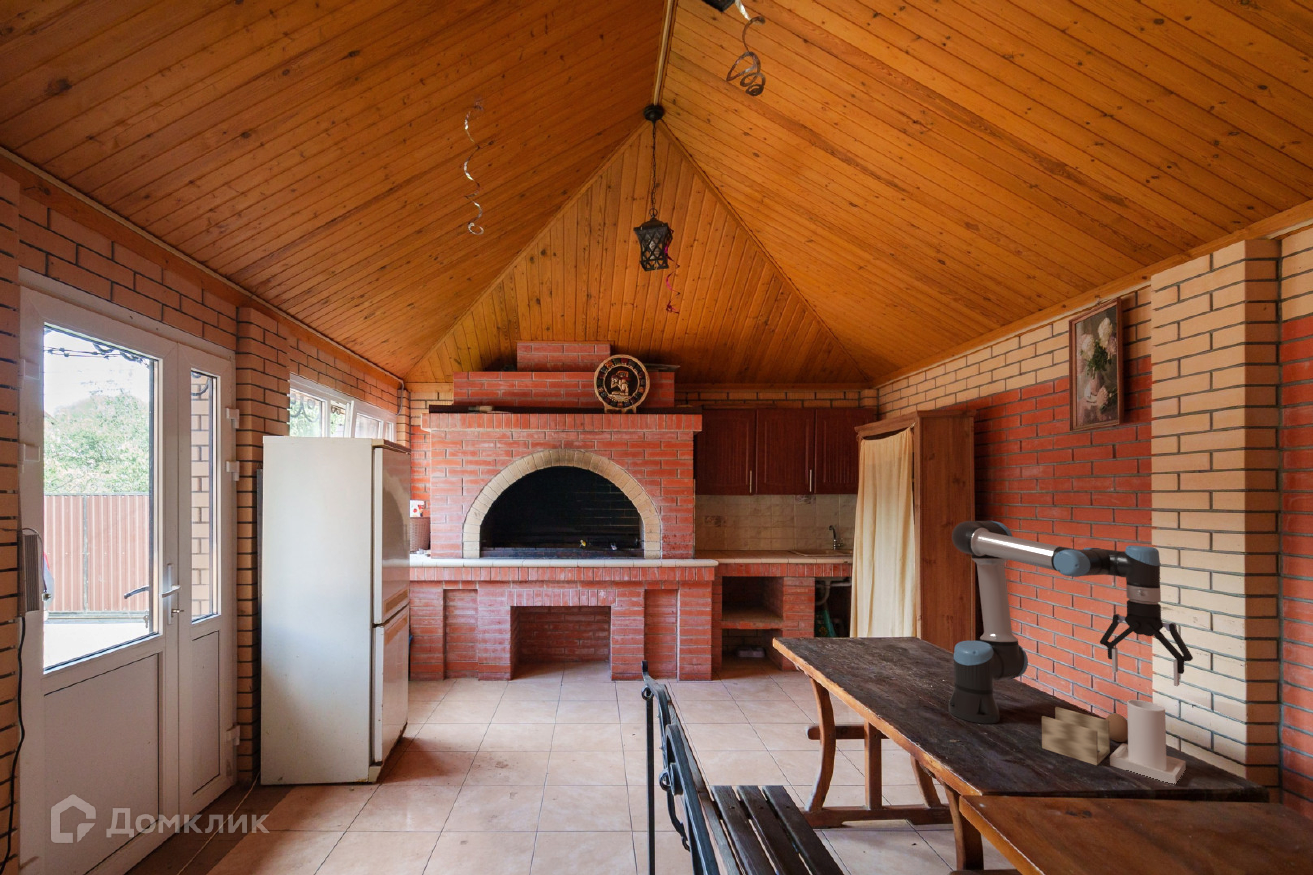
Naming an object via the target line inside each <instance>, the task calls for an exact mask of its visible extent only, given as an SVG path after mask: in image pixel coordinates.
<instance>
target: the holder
mask: <svg viewBox="0 0 1313 875" xmlns="http://www.w3.org/2000/svg"><path fill="white" fill-rule="evenodd" d="M1054 710H1055V711H1054V713H1055V715H1054V717H1055V718H1053V717H1048V716H1045V715H1042V716H1041V748H1042V749H1043V750H1047V751H1050V752H1053V753H1056V754H1059V755H1063V756H1066V757H1069V758H1072V759H1076V760H1077V761H1081V762H1085V763H1088V764H1092V765H1095V766H1098V765H1099V764H1100V763H1101V762H1102V761H1103V760H1104V759H1105V758H1106V757H1107V756H1108V755H1109V754H1110V753H1111V748H1110V747H1111V746H1110V744H1111V742H1110V740H1111V738H1110V736H1109V721H1108V720H1106V719H1103V718H1100V717H1095V716H1092V715H1090V714H1086V713H1085V714H1084V713H1081V712H1078V711H1074V710H1069V709H1066V708H1062V707H1059V706H1055V708H1054Z"/></svg>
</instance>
